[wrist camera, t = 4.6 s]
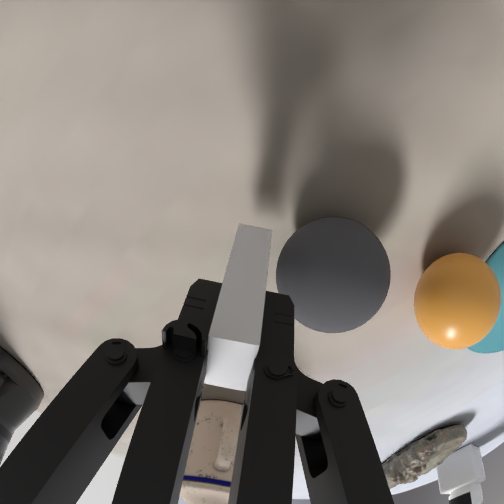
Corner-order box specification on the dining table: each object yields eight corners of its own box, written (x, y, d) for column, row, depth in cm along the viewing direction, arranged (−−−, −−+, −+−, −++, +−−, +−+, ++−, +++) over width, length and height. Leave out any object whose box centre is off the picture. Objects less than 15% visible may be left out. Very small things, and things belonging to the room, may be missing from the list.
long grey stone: (328, 485, 50) (371, 481, 51) (329, 507, 46) (373, 502, 47) (425, 425, 29) (479, 415, 29) (432, 463, 25) (488, 448, 25)
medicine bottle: (446, 463, 41) (454, 516, 31) (434, 459, 38) (442, 518, 29) (479, 447, 37) (490, 501, 27) (470, 442, 35) (482, 503, 25)
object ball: (389, 298, 19) (410, 367, 14) (426, 225, 16) (467, 288, 11) (452, 308, 19) (478, 369, 14) (490, 245, 16) (532, 302, 11)
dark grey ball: (291, 367, 13) (384, 343, 15) (327, 267, 10) (430, 256, 12) (253, 288, 18) (336, 279, 19) (270, 196, 15) (363, 199, 16)
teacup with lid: (257, 439, 33) (248, 529, 23) (180, 424, 32) (160, 513, 23) (288, 392, 26) (282, 518, 16) (185, 372, 25) (153, 498, 16)
